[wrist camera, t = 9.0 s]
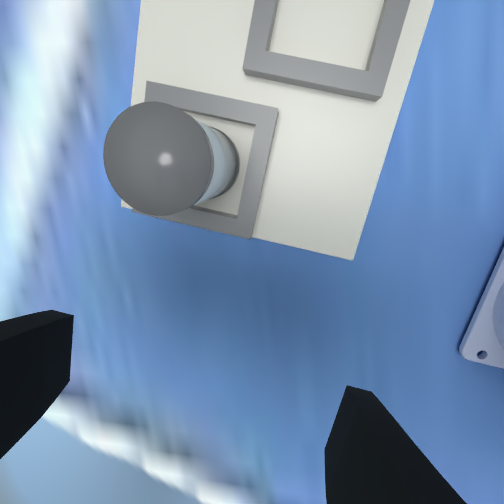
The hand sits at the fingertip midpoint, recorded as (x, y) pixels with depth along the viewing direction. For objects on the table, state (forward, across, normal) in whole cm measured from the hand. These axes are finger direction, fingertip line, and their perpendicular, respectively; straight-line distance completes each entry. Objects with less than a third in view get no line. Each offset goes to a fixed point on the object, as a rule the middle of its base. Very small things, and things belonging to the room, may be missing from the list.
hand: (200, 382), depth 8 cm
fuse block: (+10, +1, -8) cm, 13 cm away
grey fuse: (+9, +3, -5) cm, 10 cm away
